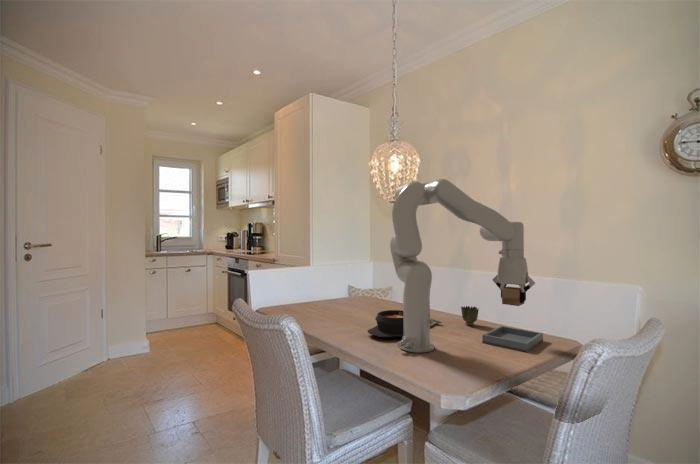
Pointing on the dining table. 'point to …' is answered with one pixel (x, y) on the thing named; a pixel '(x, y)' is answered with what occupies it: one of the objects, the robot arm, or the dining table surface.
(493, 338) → the tray
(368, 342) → the dining table surface
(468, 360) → the dining table surface
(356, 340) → the dining table surface
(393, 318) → the casserole
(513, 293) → the walnut block
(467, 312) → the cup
